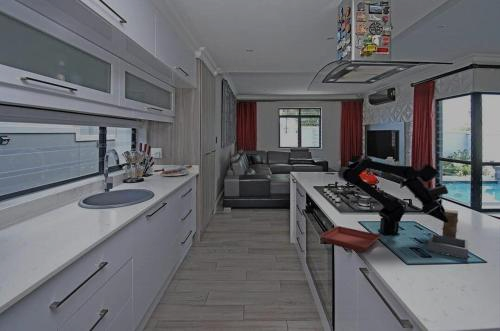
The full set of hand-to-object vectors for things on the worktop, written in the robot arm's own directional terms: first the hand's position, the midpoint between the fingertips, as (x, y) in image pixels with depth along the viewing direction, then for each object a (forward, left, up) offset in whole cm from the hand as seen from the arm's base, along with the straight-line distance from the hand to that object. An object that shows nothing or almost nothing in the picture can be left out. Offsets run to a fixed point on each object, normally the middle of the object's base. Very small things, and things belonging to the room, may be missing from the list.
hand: (447, 219), depth 119 cm
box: (-8, -11, -8) cm, 16 cm away
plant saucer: (-41, -1, -9) cm, 42 cm away
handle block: (+1, -1, -8) cm, 8 cm away
